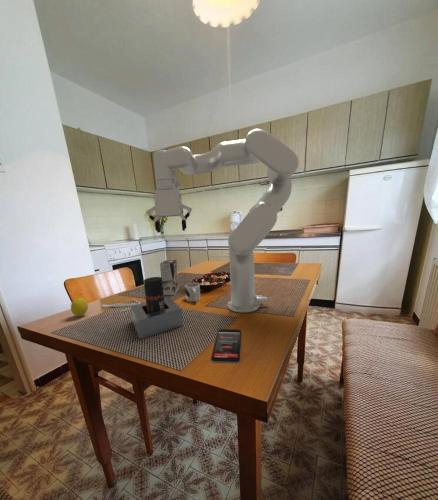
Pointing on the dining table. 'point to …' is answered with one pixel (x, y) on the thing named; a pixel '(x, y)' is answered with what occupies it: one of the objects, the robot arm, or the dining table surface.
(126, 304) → the crossbow
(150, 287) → the deodorant
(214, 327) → the dining table surface
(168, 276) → the coffee box
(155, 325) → the socket block
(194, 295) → the mug
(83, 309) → the lemon
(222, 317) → the dining table surface
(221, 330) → the smartphone
